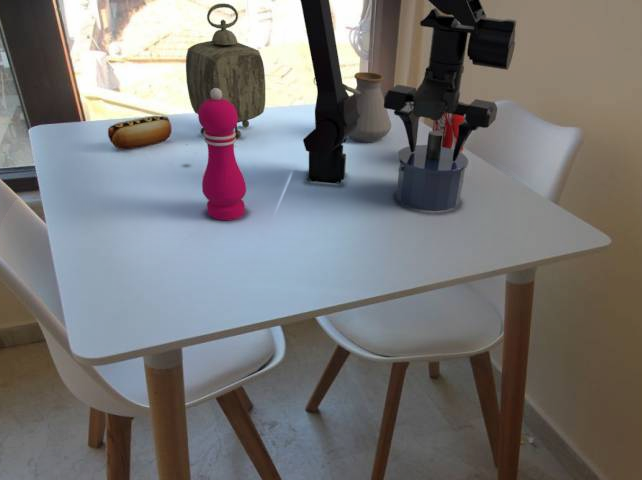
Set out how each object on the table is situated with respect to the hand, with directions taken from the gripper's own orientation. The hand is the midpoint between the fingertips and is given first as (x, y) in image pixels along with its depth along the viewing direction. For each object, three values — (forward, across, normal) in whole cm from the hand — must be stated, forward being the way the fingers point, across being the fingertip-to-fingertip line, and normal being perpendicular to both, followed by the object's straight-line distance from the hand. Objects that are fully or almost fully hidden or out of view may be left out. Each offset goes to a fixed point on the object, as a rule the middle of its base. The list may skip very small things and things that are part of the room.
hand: (433, 156), depth 110 cm
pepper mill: (+8, -28, -24) cm, 38 cm away
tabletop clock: (+8, -49, +10) cm, 51 cm away
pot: (+8, 0, 0) cm, 8 cm away
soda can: (+8, -3, +20) cm, 22 cm away
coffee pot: (+8, -26, +22) cm, 35 cm away
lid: (+1, 0, 0) cm, 1 cm away
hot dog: (+8, -61, -6) cm, 61 cm away
